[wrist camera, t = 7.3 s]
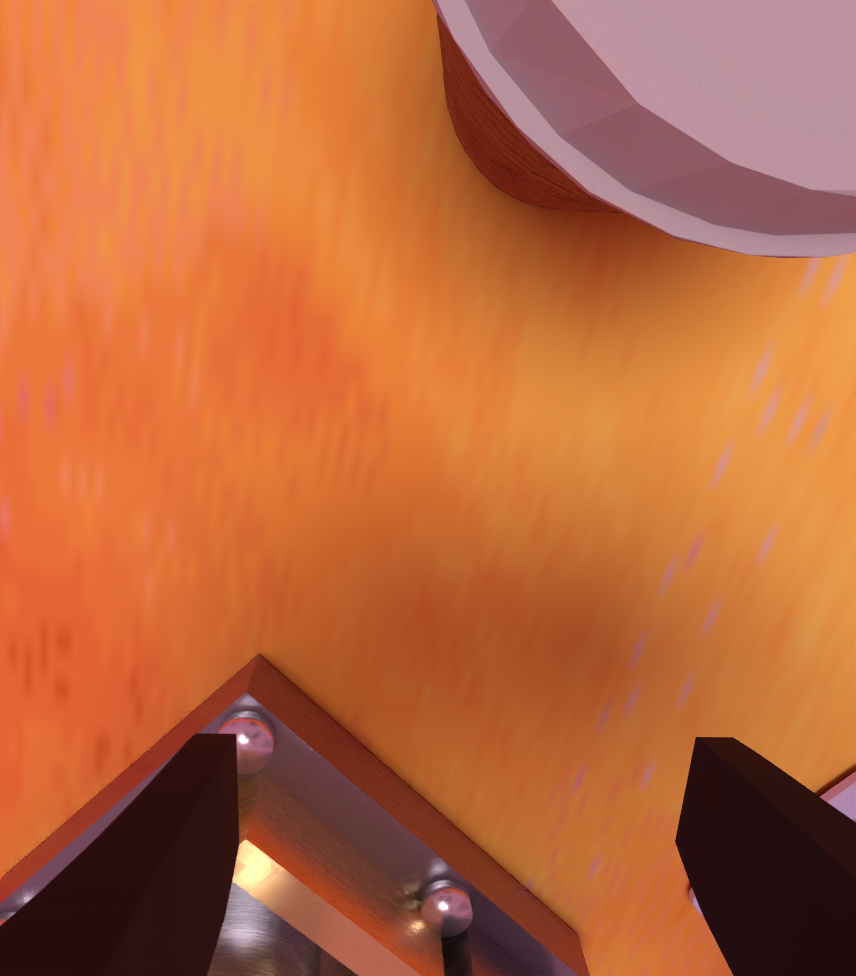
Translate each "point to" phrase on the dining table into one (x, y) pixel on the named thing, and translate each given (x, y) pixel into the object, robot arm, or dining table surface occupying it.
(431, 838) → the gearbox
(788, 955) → the robot arm
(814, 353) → the dining table surface
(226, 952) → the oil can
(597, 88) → the disposable coffee cup
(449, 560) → the dining table surface
